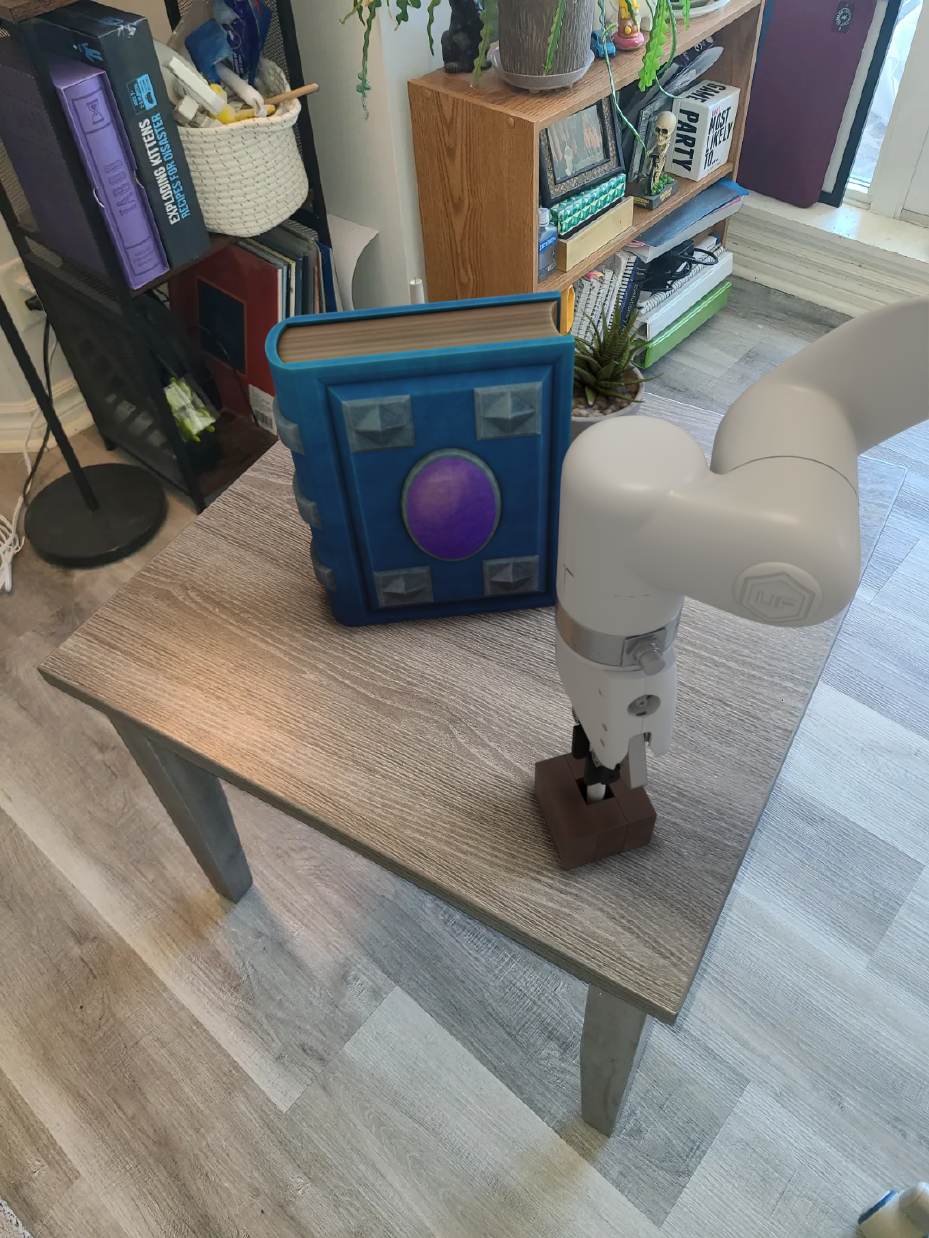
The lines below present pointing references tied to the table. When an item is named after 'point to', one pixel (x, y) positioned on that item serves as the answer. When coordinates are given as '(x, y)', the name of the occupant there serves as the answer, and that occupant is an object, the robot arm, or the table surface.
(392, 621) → the book
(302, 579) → the table surface
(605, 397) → the potted plant
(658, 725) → the robot arm
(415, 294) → the candle
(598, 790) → the stylus
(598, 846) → the pen stand
